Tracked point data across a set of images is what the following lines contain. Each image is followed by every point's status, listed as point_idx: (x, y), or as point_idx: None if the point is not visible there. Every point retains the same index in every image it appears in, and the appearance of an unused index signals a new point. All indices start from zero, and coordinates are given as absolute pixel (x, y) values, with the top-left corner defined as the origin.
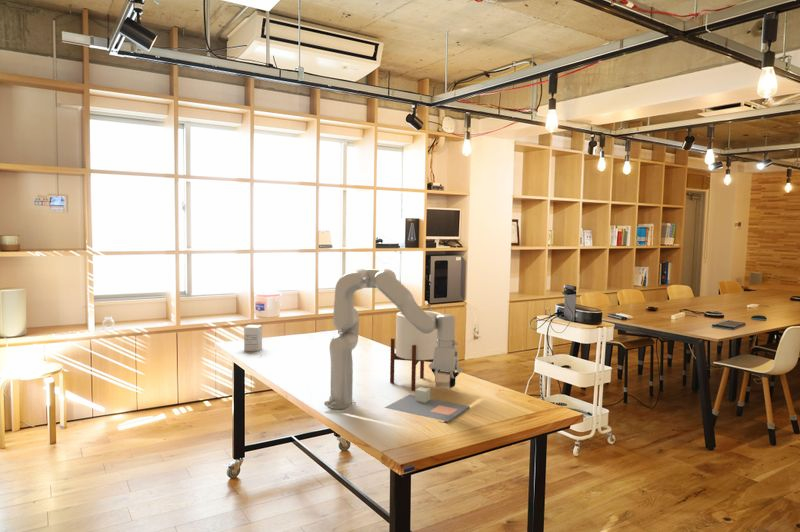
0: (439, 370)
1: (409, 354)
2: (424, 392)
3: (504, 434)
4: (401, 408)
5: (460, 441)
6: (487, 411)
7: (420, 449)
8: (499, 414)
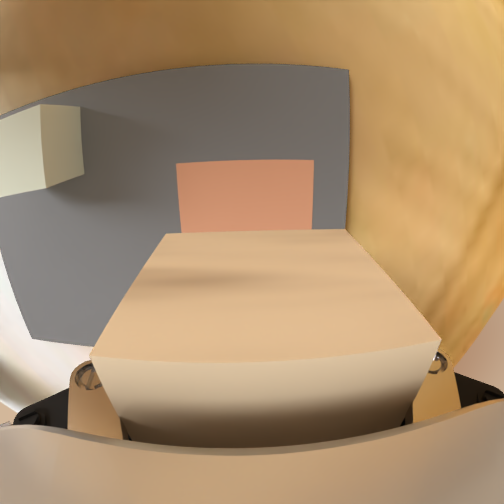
0: (115, 436)
1: None
2: (46, 186)
3: (501, 299)
4: (70, 319)
5: None
6: (433, 82)
7: None
8: (479, 106)
